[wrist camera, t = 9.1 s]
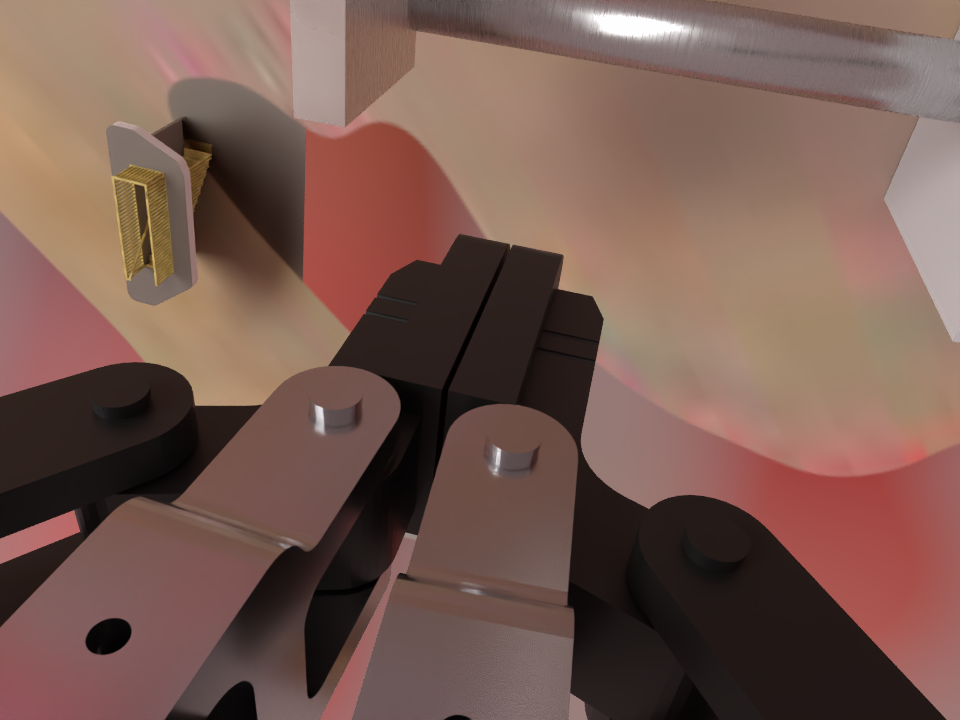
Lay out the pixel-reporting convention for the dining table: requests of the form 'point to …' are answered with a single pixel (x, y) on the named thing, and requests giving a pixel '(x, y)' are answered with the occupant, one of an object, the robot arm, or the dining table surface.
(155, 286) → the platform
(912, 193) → the block
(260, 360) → the dining table surface
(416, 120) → the dining table surface
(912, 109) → the shaft
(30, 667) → the robot arm
